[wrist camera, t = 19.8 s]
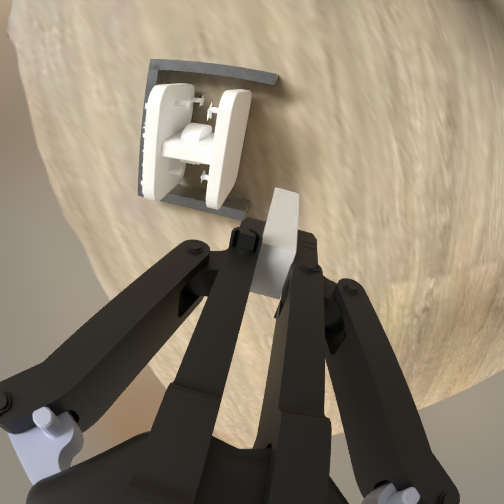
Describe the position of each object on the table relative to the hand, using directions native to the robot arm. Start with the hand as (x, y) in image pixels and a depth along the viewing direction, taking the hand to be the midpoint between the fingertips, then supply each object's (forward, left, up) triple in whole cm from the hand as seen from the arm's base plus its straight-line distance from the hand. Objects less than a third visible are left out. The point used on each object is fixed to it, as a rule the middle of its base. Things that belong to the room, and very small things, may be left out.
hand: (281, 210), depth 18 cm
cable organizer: (+12, +2, -25) cm, 27 cm away
